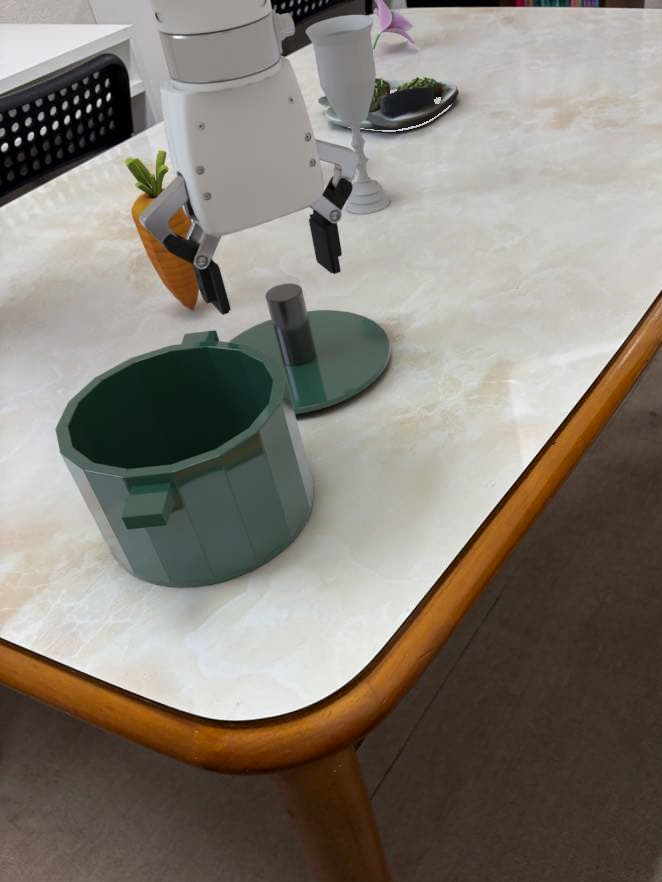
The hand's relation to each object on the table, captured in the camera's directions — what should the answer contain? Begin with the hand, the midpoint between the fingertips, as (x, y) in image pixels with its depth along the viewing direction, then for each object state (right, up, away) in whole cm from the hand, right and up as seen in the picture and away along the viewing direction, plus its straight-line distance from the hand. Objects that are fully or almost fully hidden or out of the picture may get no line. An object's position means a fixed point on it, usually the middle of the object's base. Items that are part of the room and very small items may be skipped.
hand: (275, 287), depth 69 cm
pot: (-3, -18, -8) cm, 20 cm away
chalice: (+6, +18, +29) cm, 34 cm away
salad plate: (+9, +39, +50) cm, 64 cm away
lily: (+9, +60, +73) cm, 95 cm away
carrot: (-11, +2, +16) cm, 19 cm away
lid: (+1, -5, +5) cm, 7 cm away
